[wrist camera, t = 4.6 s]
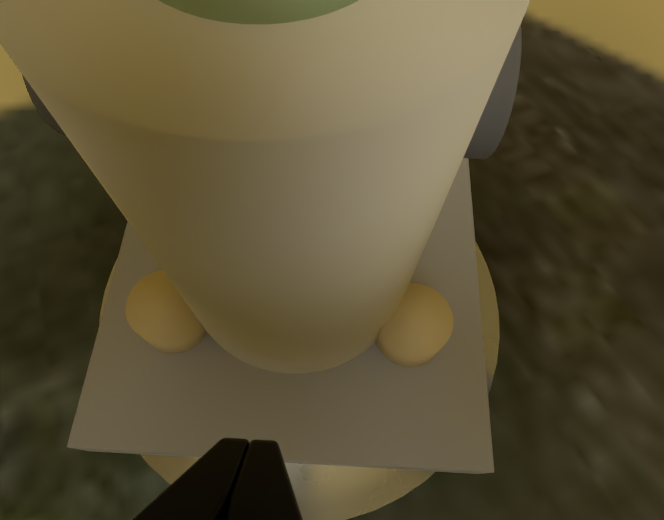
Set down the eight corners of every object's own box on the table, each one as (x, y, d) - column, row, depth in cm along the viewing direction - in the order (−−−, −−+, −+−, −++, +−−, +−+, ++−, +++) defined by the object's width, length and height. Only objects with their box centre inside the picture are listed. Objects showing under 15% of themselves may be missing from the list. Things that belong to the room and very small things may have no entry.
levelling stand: (511, 537, 14) (540, 544, 12) (57, 510, 14) (18, 512, 12) (476, 166, 20) (492, 133, 18) (154, 148, 20) (137, 113, 18)
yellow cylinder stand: (479, 473, 12) (1119, 407, 2) (88, 451, 12) (-838, 293, 2) (456, 156, 17) (657, -336, 7) (166, 140, 17) (-60, -372, 7)
